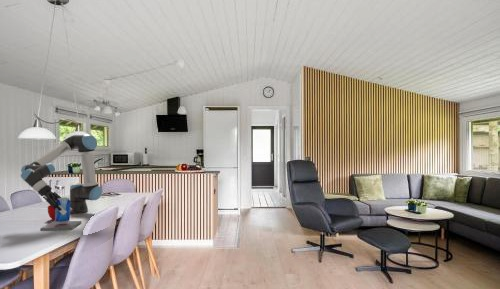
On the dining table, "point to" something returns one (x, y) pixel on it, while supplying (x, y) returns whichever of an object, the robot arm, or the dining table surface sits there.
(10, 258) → the dining table surface
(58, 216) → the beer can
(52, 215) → the ceramic cup
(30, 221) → the dining table surface
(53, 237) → the dining table surface
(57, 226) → the slate tile
